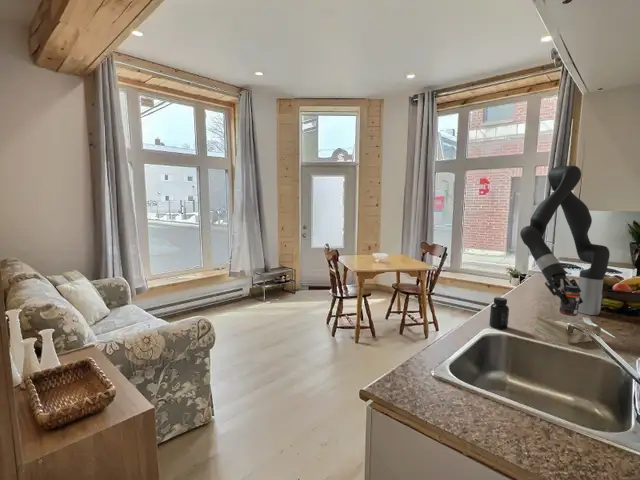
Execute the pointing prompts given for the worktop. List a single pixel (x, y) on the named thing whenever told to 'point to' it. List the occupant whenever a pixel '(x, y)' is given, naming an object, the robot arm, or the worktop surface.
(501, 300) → the supplement bottle
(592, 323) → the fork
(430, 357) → the worktop surface
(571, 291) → the supplement bottle
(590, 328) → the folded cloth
